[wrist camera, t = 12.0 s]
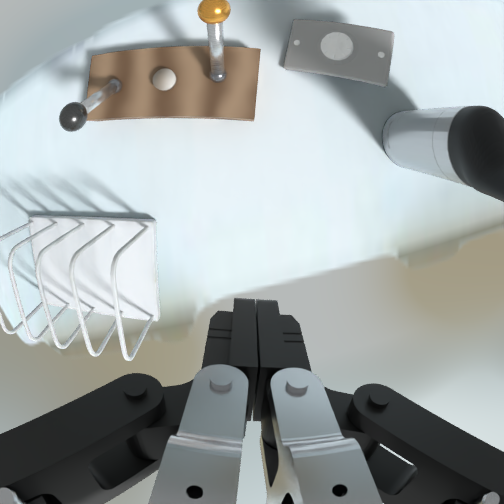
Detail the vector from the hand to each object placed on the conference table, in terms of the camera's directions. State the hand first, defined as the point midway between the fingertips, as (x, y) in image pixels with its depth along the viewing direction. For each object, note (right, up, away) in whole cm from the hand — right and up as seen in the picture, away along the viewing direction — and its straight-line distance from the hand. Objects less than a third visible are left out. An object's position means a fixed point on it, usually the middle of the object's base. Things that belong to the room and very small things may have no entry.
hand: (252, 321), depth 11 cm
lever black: (-18, +25, +23) cm, 39 cm away
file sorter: (-28, 0, +37) cm, 46 cm away
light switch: (+12, +31, +26) cm, 42 cm away
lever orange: (-4, +24, +24) cm, 34 cm away
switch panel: (-11, +26, +27) cm, 40 cm away
